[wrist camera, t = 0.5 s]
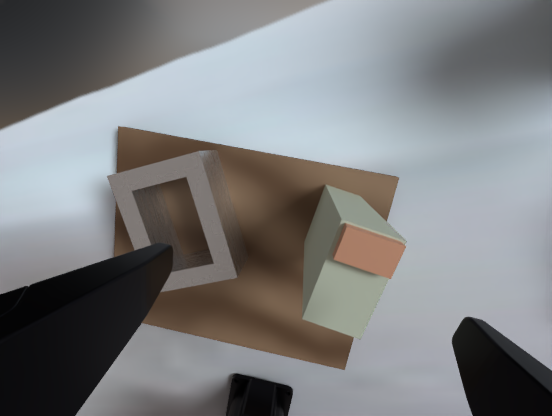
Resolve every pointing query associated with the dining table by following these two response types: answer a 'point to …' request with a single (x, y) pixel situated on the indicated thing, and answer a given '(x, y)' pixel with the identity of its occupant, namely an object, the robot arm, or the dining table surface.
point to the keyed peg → (347, 262)
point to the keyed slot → (159, 227)
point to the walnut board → (251, 245)
